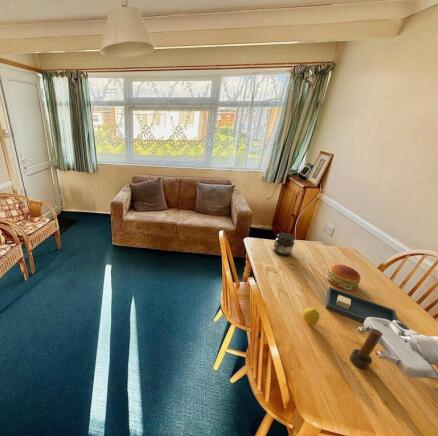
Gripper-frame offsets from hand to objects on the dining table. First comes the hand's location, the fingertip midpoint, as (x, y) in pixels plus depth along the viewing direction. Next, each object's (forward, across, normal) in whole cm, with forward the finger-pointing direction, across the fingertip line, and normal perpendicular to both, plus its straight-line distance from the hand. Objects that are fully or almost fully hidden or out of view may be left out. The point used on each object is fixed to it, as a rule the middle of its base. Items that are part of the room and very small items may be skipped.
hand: (367, 341), depth 79 cm
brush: (0, -1, -10) cm, 10 cm away
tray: (-15, +25, -10) cm, 31 cm away
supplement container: (+2, +72, -11) cm, 72 cm away
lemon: (+10, +15, -11) cm, 21 cm away
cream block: (-10, +28, -10) cm, 31 cm away
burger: (-18, +45, -11) cm, 50 cm away
